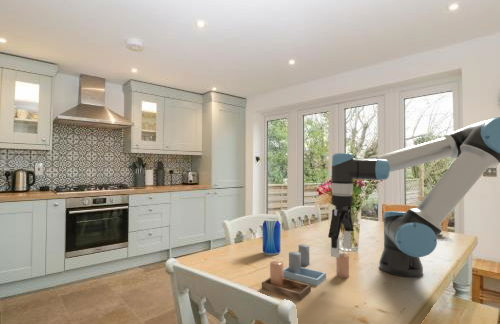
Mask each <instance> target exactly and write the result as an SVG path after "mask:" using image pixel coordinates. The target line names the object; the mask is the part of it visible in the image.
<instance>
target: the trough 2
mask: <svg viewBox="0 0 500 324" xmlns="http://www.w3.org/2000/svg"><path fill="white" fill-rule="evenodd" d="M283 278H286V279H290V280H293V281H297V282H301V283H304V284H308V285H311V286H316V287H318V286H319V285H321V283H323V282H324V281H326V280H327V272H325V271H324V272H323V271H319V270H315V269H310V268H306V267H304V266H301V275H299V274H295V273H291V272H289V266H287V267H285V268H283Z"/></svg>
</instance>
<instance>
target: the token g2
mask: <svg viewBox="0 0 500 324" xmlns="http://www.w3.org/2000/svg"><path fill="white" fill-rule="evenodd" d="M298 252H299V253H301V267H307V266H310V244H303V243H302V244H299V245H298Z"/></svg>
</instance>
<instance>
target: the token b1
mask: <svg viewBox="0 0 500 324" xmlns="http://www.w3.org/2000/svg"><path fill="white" fill-rule="evenodd" d="M288 267H289V272H291V273H295V274H299V275H301V267H302V266H301V253H299V251H289V252H288Z"/></svg>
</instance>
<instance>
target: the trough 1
mask: <svg viewBox="0 0 500 324" xmlns="http://www.w3.org/2000/svg"><path fill="white" fill-rule="evenodd" d="M261 289H262V290H264V291H268V292H271V293H274V294H277V295H281V296H283V297H286V298H289V299H293V300H296V301H300V302H301V301H302V300H303V299H304V298H305V297H307V296H308V295H309V294H310V293H311V292H312V284H308V283H304V282H301V281H297V280H293V279H290V278H286V277H283V288H282V287H278V286H275V285H271V284H270V277H268V278H267V279H266V280H263V281H262V282H261Z"/></svg>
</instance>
